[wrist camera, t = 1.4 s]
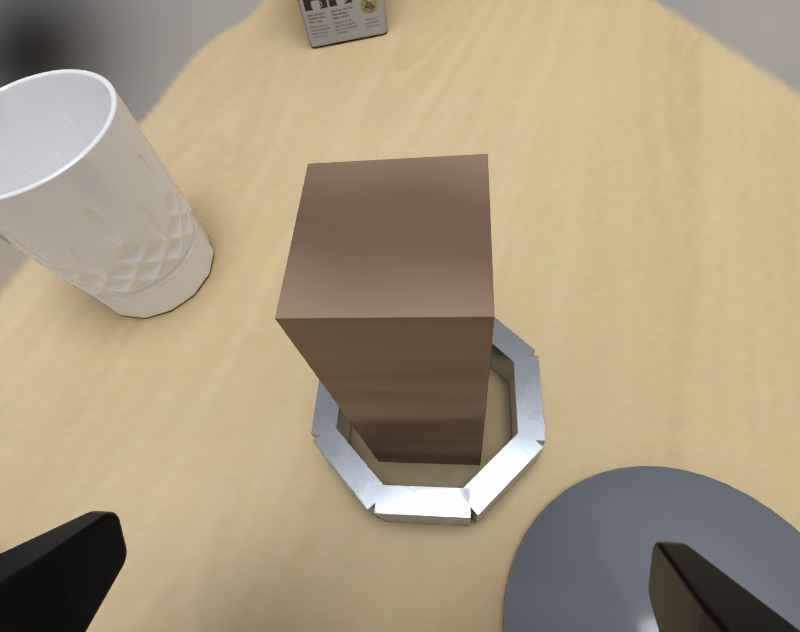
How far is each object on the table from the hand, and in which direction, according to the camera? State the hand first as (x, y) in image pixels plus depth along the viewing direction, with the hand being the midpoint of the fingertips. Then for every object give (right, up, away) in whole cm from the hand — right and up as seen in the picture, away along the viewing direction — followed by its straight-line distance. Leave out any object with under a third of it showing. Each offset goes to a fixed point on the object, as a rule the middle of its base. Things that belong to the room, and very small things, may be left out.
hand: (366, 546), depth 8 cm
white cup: (-14, +6, +20) cm, 25 cm away
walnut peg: (+2, -1, +14) cm, 14 cm away
